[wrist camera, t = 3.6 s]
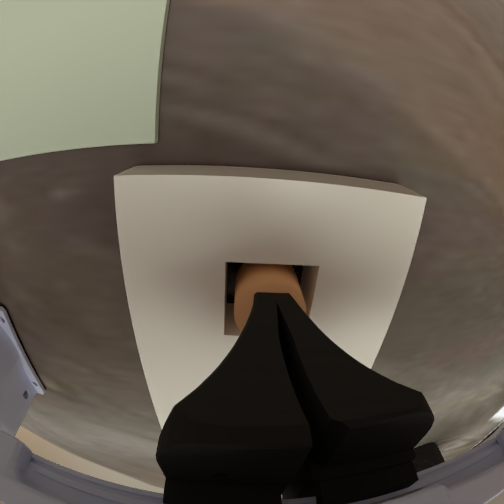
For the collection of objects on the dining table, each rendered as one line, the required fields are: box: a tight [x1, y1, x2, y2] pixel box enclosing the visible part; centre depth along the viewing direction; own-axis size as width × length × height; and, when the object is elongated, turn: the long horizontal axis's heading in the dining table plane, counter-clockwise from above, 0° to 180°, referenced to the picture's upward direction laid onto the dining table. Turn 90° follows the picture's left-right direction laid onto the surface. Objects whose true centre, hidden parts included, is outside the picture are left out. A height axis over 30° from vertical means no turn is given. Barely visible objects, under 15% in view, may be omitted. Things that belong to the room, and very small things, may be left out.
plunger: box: [234, 263, 306, 331], centre depth 12 cm, size 3×3×2 cm
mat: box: [0, 0, 170, 161], centre depth 8 cm, size 12×12×1 cm
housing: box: [114, 165, 426, 429], centre depth 15 cm, size 19×12×2 cm, turn 176°
